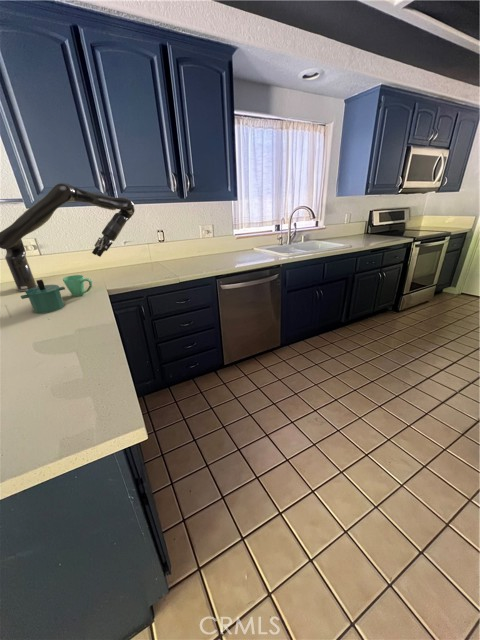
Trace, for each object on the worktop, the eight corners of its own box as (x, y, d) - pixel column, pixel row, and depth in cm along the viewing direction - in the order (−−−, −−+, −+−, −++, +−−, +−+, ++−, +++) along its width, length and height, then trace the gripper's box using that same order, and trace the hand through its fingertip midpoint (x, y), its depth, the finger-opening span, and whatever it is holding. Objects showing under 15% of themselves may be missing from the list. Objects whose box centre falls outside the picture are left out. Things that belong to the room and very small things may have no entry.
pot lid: (23, 291, 128) (19, 280, 126) (55, 284, 137) (51, 274, 135) (29, 298, 120) (25, 286, 118) (63, 290, 129) (59, 279, 126)
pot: (24, 310, 131) (17, 291, 126) (65, 299, 142) (60, 283, 138) (30, 317, 123) (23, 298, 119) (73, 306, 134) (67, 288, 130)
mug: (64, 297, 145) (58, 280, 141) (74, 291, 154) (69, 275, 149) (90, 297, 144) (85, 280, 140) (99, 291, 153) (95, 275, 149)
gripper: (101, 225, 152) (85, 249, 150) (111, 227, 143) (94, 252, 141) (112, 233, 158) (97, 257, 155) (123, 236, 149) (107, 260, 146)
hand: (95, 254), depth 148 cm, fingers open, 6 cm apart
